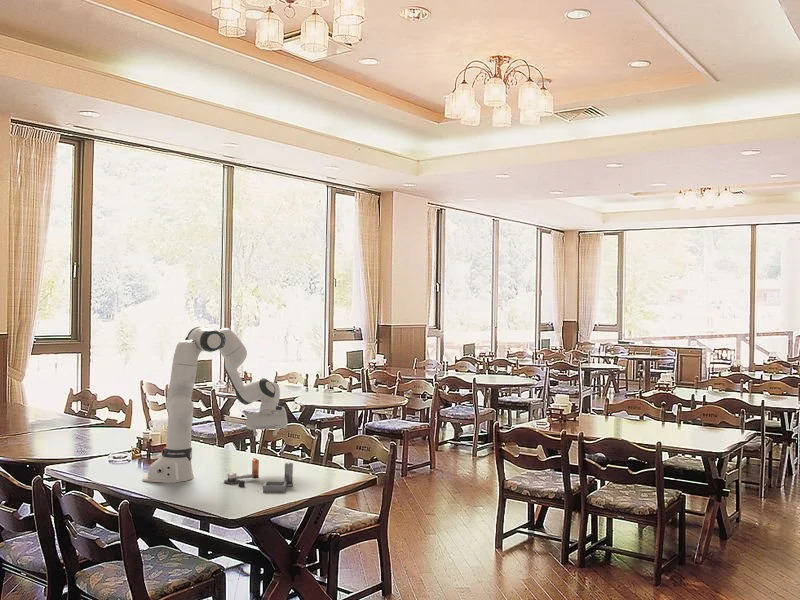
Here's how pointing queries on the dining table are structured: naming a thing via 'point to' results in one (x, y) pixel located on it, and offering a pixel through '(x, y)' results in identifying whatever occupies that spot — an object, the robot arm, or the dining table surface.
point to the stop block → (241, 483)
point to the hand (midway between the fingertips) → (264, 435)
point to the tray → (275, 486)
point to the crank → (254, 474)
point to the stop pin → (289, 474)
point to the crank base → (231, 482)
